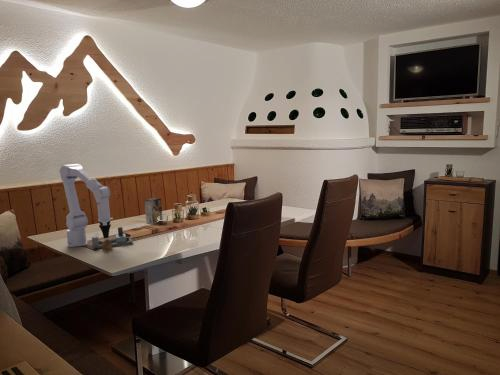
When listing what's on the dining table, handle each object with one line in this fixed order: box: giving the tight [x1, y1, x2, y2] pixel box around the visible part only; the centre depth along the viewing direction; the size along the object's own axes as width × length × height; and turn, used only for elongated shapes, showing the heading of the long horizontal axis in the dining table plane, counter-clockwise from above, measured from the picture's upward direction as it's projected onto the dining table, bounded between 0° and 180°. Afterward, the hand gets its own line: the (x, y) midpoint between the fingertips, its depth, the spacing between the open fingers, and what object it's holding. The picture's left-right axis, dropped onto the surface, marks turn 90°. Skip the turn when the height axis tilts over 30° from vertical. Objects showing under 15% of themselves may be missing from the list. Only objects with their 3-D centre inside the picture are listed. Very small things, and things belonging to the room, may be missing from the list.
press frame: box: [91, 232, 133, 250], centre depth 210 cm, size 20×11×6 cm, turn 111°
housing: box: [101, 238, 113, 252], centre depth 201 cm, size 4×4×5 cm
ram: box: [115, 226, 127, 243], centre depth 212 cm, size 5×8×8 cm, turn 21°
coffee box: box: [144, 197, 163, 225], centre depth 259 cm, size 9×6×16 cm
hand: (106, 236), depth 200 cm, fingers open, 7 cm apart
